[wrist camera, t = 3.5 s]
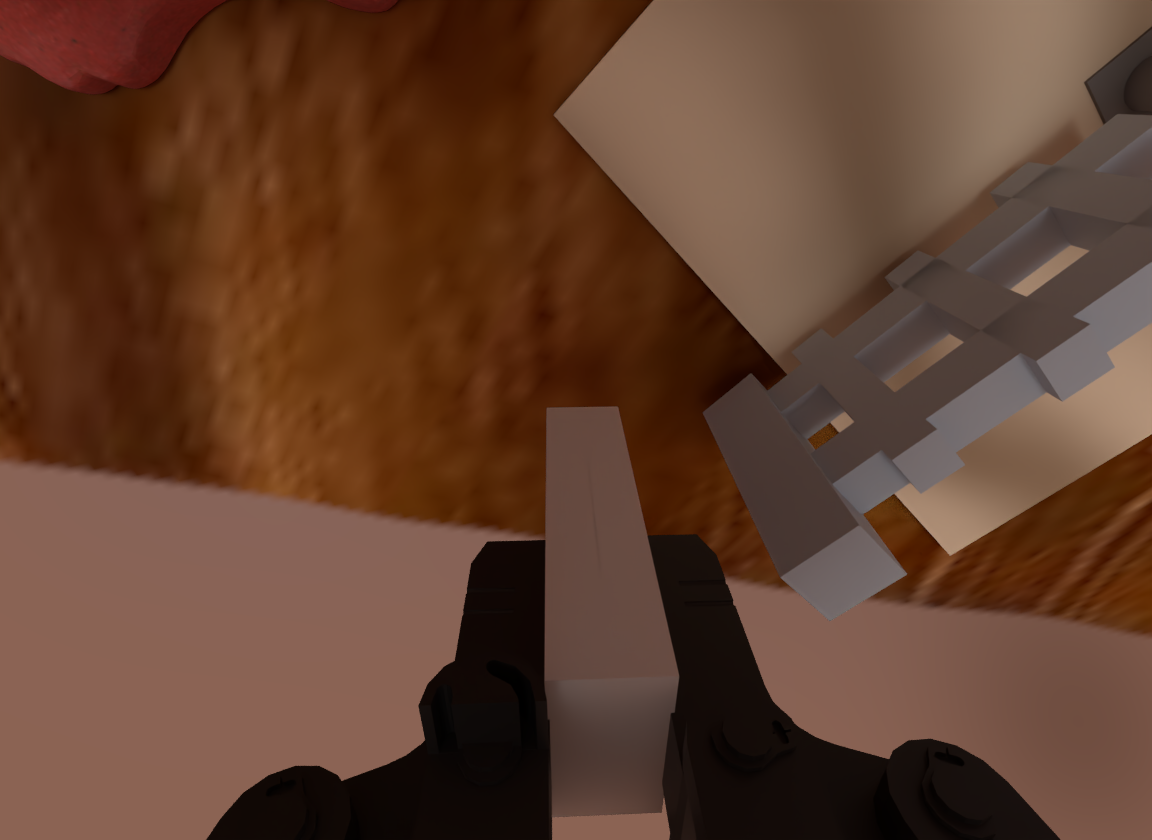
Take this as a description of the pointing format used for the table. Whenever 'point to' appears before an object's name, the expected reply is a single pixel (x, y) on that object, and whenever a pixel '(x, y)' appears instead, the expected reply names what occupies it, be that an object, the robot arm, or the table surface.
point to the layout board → (871, 181)
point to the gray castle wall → (944, 362)
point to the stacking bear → (107, 37)
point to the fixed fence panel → (1140, 87)
